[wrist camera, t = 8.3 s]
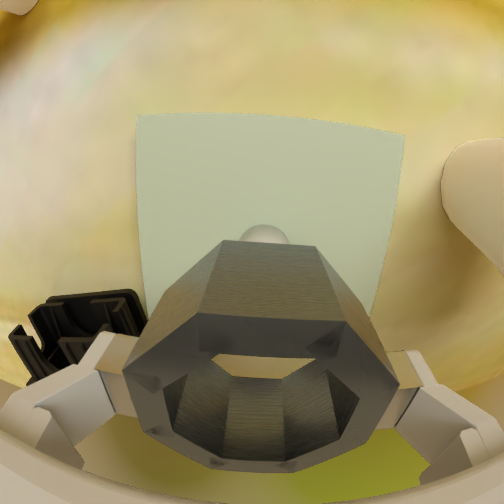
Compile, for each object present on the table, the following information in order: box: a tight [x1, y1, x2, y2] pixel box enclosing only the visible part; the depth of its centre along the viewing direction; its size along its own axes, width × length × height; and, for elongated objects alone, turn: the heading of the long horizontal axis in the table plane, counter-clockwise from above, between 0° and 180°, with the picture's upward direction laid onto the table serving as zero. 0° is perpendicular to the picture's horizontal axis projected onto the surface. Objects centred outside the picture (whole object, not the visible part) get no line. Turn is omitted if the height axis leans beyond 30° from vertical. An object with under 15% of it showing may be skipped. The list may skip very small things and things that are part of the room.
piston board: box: [136, 113, 405, 319], centre depth 14 cm, size 14×14×6 cm
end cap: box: [8, 289, 148, 386], centre depth 18 cm, size 10×7×7 cm
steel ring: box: [122, 240, 400, 473], centre depth 8 cm, size 6×6×4 cm
